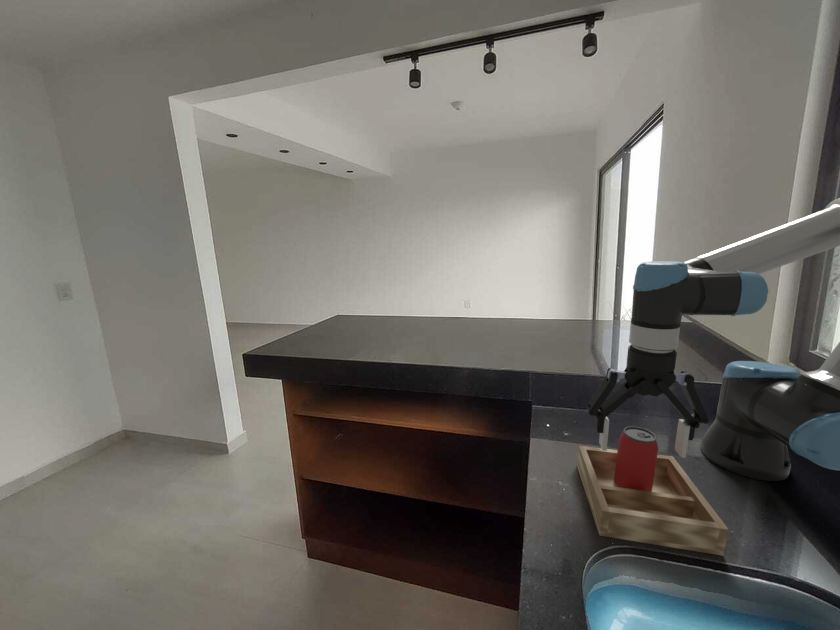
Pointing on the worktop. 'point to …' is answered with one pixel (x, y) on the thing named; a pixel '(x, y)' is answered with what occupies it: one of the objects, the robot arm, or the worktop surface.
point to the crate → (650, 505)
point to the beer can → (636, 459)
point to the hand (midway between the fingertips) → (640, 450)
